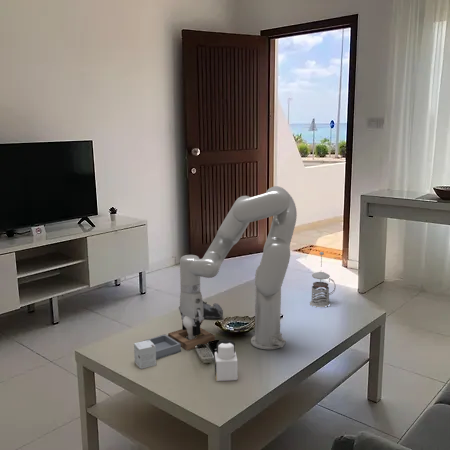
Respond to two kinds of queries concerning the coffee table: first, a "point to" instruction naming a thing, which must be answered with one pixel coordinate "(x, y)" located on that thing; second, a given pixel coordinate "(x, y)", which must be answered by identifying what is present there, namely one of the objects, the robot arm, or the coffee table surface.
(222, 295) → the coffee table surface
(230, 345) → the medicine bottle
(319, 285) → the french press
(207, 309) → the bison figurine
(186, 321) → the lightbulb
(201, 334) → the socket collar
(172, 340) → the tray
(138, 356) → the skincare box
